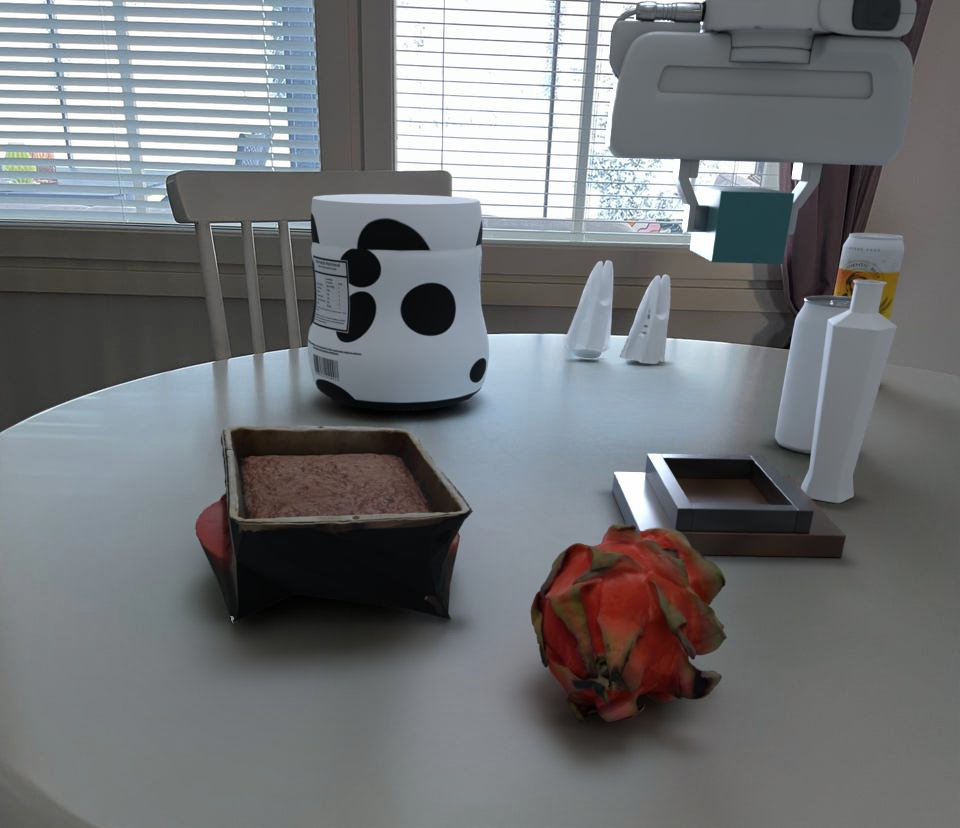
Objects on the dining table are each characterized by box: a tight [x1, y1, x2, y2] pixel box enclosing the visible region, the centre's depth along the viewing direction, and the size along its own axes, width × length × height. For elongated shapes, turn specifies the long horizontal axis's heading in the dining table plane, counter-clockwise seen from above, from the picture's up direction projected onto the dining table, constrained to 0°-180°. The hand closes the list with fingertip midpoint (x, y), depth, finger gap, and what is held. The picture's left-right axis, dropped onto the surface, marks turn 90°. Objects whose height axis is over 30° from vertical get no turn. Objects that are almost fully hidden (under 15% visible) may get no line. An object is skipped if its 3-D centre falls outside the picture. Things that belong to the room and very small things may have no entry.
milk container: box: [307, 193, 490, 412], centre depth 88 cm, size 17×17×18 cm
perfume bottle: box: [800, 280, 898, 504], centre depth 66 cm, size 5×4×15 cm
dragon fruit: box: [530, 523, 727, 724], centre depth 42 cm, size 8×8×12 cm
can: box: [774, 295, 852, 455], centre depth 79 cm, size 6×6×12 cm
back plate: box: [612, 453, 847, 558], centre depth 64 cm, size 13×12×3 cm
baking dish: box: [194, 424, 474, 623], centre depth 52 cm, size 14×18×10 cm
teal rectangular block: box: [689, 185, 794, 265], centre depth 68 cm, size 5×8×4 cm, turn 0°
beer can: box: [833, 232, 906, 321], centre depth 101 cm, size 6×6×15 cm
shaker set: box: [563, 259, 672, 365], centre depth 109 cm, size 12×4×11 cm, turn 82°
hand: (737, 233), depth 68 cm, fingers closed on teal rectangular block, 5 cm apart
